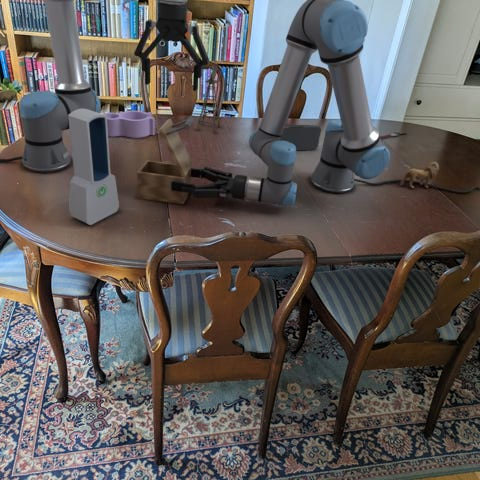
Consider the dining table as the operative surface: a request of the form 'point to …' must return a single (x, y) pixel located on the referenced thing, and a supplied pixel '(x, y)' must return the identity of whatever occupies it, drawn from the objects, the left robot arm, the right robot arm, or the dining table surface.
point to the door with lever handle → (177, 143)
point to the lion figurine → (421, 174)
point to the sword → (391, 135)
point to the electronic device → (91, 168)
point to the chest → (161, 182)
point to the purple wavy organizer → (130, 124)
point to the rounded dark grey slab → (302, 136)
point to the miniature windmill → (212, 82)
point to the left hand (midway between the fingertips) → (171, 86)
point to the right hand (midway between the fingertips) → (176, 178)
